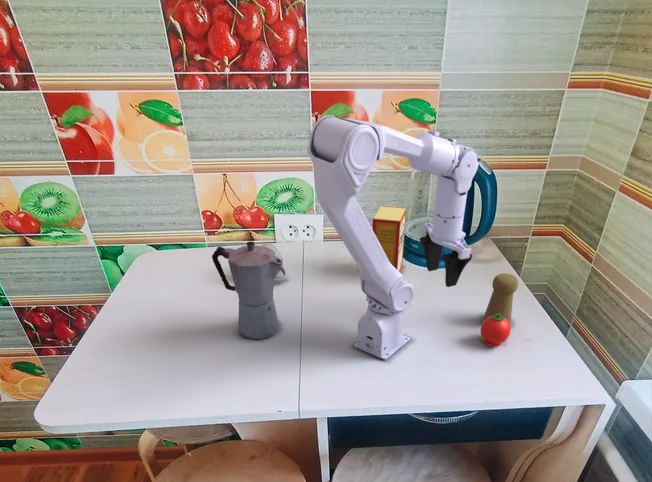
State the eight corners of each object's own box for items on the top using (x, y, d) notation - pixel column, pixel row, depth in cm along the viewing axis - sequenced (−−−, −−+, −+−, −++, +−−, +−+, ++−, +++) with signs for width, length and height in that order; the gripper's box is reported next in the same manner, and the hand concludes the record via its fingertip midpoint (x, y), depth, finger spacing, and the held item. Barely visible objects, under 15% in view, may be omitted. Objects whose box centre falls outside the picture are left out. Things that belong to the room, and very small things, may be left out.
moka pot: (284, 345, 97) (273, 254, 84) (215, 337, 99) (195, 248, 87) (297, 321, 104) (289, 234, 91) (232, 314, 107) (216, 229, 94)
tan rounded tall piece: (508, 315, 106) (519, 270, 99) (512, 329, 101) (524, 283, 94) (481, 313, 106) (490, 269, 99) (484, 327, 102) (494, 282, 95)
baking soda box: (378, 263, 127) (380, 204, 117) (402, 266, 126) (406, 206, 115) (371, 279, 120) (372, 217, 110) (396, 282, 119) (399, 219, 108)
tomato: (500, 353, 94) (507, 325, 90) (473, 343, 97) (478, 315, 93) (511, 340, 98) (519, 312, 94) (485, 330, 101) (491, 303, 97)
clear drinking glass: (242, 278, 120) (238, 250, 115) (263, 266, 126) (260, 239, 121) (273, 289, 116) (270, 261, 111) (294, 277, 121) (292, 249, 116)
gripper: (488, 222, 85) (477, 289, 94) (447, 198, 95) (440, 260, 104) (455, 229, 83) (446, 296, 92) (417, 203, 93) (412, 265, 102)
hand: (441, 277), depth 98 cm, fingers open, 7 cm apart
